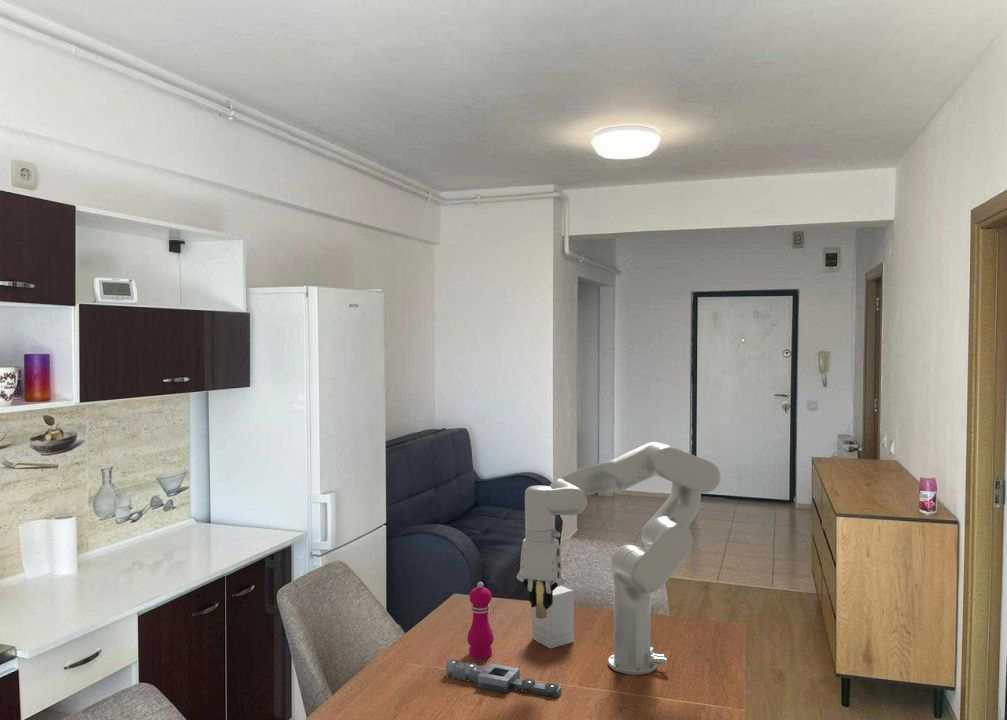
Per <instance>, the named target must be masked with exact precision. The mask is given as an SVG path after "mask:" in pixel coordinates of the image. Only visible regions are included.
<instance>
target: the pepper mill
mask: <svg viewBox="0 0 1007 720" xmlns="http://www.w3.org/2000/svg"><path fill="white" fill-rule="evenodd" d="M491 601H492V593H491V591H490V590H489V589H488V588H487V587H484V583H483V582H482V581H479V582H477V584H476V587H474V588H472V589H471V591H470V593H469V602H470V603H471V610H470V611H471V612H472V622H471V624H470V625H471V626H470V628H469V630H468V633H467V637H466V641H467V643H468V645H469V646H470V647H469V648H468V654H469V657H471V658H472V659H476V658H477V660H481V659H480V658H485V659H487V658H490V657H492V655H493V647H492V644H493V642H494V640H495V639H494V631H493V630H492V627H491V625H490V622H489V617H488V616H489V612H490V603H491Z"/></svg>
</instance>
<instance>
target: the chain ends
mask: <svg viewBox="0 0 1007 720" xmlns="http://www.w3.org/2000/svg"><path fill="white" fill-rule="evenodd" d="M445 673H446V674H445V677H446V676H448V677H454V678H459V679H458V680H460V679H464V680H463V681H465V680H469V681H468V682H470V681H473V682H472V683H476V682H478V683H477V689H482V688H484V689H483V690H487V689H488V690H489V691H492V690H494V691H493V692H497V691H499V693H503V692H505V693H504V694H508V693H510V691H511V690H513V689H517V690H516V691H518V690H523V691H527V692H526V693H529V692H532V693H531V694H534V693H536V694H535V695H539V694H542V695H541V696H545V695H547V696H546V697H549V696H550V697H551V698H555V699H557V698H559V697H560V695H561V694H562V686H561V685H558V684H557V683H555V682H547V683H545V682H544V683H543V682H539V681H536V680H535V679H532V678H524V679H523V678H522V679H521V677H520V673H521V671H520V668H518V667H512V666H507V665H502V664H496V663H489V665H488V666H482V665H477V664H476V663H475V662H460V661H459V660H458V659H455V658H453V659H452V658H451V659H447V660H446V662H445ZM448 677H447V678H448ZM454 678H453V679H454ZM510 689H511V690H510ZM488 690H487V691H488ZM509 690H510V691H509ZM523 691H522V692H523Z"/></svg>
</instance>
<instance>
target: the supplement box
mask: <svg viewBox="0 0 1007 720" xmlns="http://www.w3.org/2000/svg"><path fill="white" fill-rule="evenodd" d="M574 608H575V591H574V590H573V589H570V588H568V587H565V586H563V585H561V586H558V587H556V588H555V589H554V590H553V603H552V605H551V606H550V607H549V608H548V609H547V618H544V619H539V618H536V614H535V607H531V639H534V640H536V641H537V642H536V641H535V642H536V643H538V642H539V644H540V643H541V644H540V645H542V644H543V646H544V647H546V648H548V649H554V648H557V647H560V646H564V645H568V644H572V643H574V641H575V609H574ZM534 640H533V641H534Z"/></svg>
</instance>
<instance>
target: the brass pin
mask: <svg viewBox="0 0 1007 720" xmlns="http://www.w3.org/2000/svg"><path fill="white" fill-rule="evenodd" d="M545 593H546V584H545V581H539V580H535V614H536V618H539V619H544V618H547V609H545V604H544V594H545Z"/></svg>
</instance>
